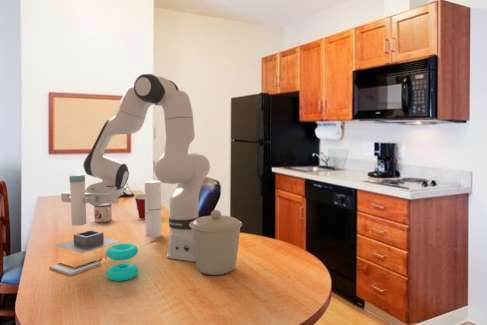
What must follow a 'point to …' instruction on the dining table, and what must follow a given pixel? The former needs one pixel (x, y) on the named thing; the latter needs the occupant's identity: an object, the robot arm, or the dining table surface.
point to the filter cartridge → (77, 200)
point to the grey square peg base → (88, 241)
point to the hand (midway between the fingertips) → (76, 200)
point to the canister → (216, 243)
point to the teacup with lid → (103, 213)
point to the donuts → (122, 269)
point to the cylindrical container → (153, 208)
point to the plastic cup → (140, 204)
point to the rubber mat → (73, 270)
